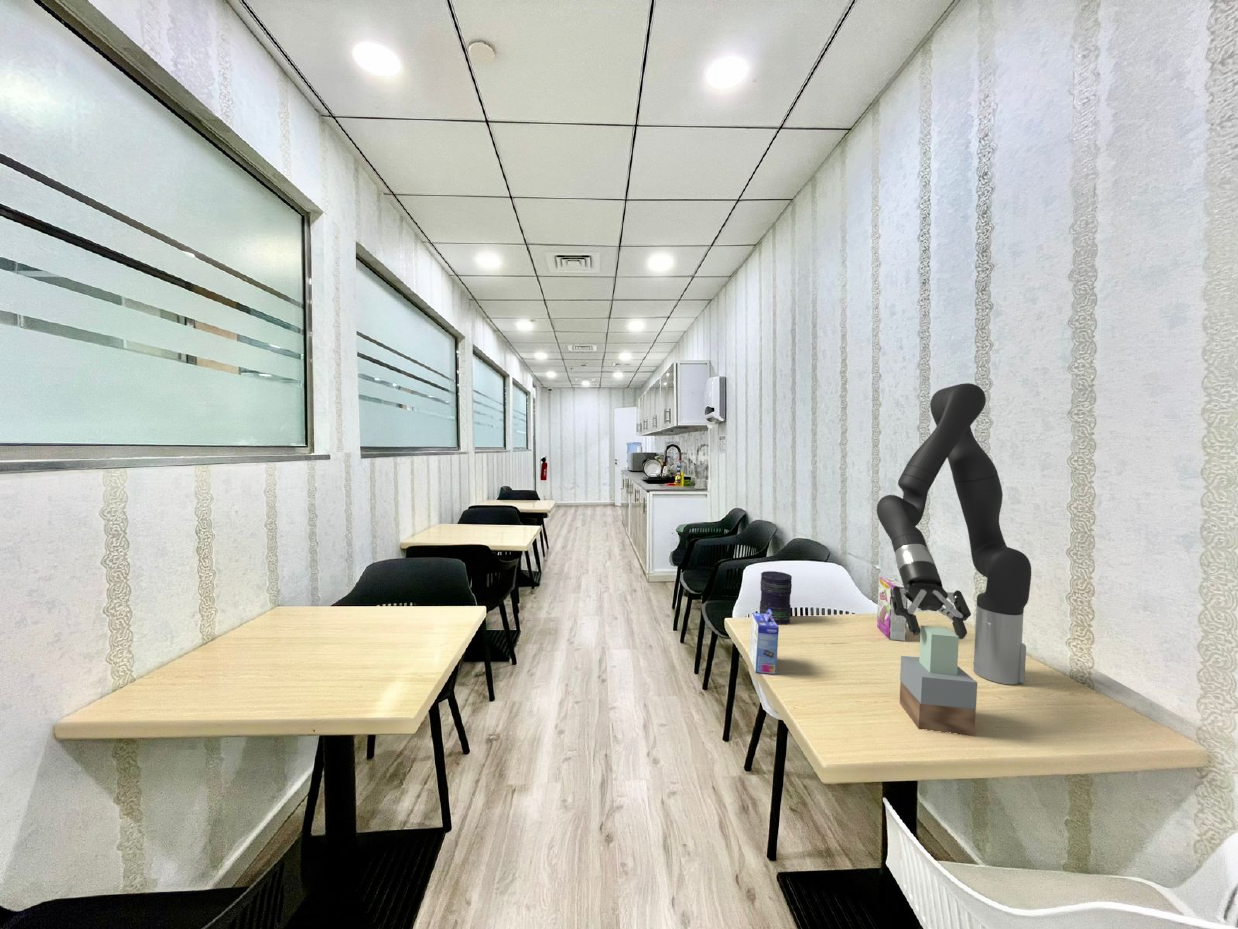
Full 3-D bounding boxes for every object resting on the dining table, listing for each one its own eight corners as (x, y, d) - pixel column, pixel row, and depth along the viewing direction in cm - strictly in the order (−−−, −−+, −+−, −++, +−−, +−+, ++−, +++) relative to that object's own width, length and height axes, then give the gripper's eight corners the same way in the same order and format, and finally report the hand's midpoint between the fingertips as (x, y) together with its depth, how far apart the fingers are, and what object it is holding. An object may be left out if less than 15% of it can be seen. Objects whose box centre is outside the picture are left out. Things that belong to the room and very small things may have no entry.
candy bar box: (875, 626, 151) (877, 576, 150) (892, 628, 150) (894, 577, 149) (888, 640, 140) (890, 586, 139) (906, 642, 139) (909, 587, 138)
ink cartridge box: (778, 675, 116) (780, 617, 115) (755, 673, 116) (757, 616, 116) (769, 658, 126) (771, 604, 125) (748, 656, 126) (750, 603, 126)
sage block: (944, 664, 100) (946, 627, 100) (957, 675, 95) (958, 636, 95) (919, 662, 101) (920, 625, 101) (929, 672, 96) (931, 634, 96)
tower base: (949, 710, 102) (950, 685, 102) (974, 737, 92) (975, 710, 92) (899, 704, 104) (900, 680, 104) (918, 730, 94) (919, 703, 94)
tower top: (949, 685, 102) (950, 660, 102) (976, 709, 92) (977, 682, 92) (900, 680, 104) (901, 655, 104) (920, 703, 94) (922, 677, 94)
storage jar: (764, 612, 162) (766, 569, 161) (794, 618, 156) (795, 574, 156) (754, 620, 154) (756, 575, 153) (785, 627, 148) (787, 581, 148)
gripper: (888, 557, 107) (908, 625, 96) (957, 561, 105) (985, 631, 94) (879, 574, 113) (896, 640, 102) (944, 578, 110) (969, 646, 99)
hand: (939, 635), depth 98 cm, fingers open, 8 cm apart
